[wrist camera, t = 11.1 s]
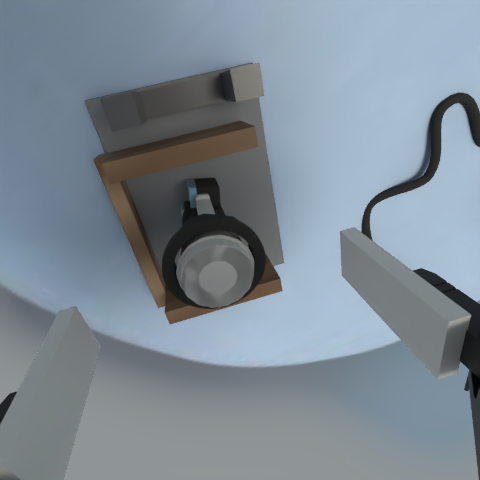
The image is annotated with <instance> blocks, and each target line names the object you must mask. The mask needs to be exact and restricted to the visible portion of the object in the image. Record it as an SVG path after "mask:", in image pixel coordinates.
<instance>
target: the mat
mask: <svg viewBox="0 0 480 480" xmlns="http://www.w3.org/2000/svg"><path fill="white" fill-rule="evenodd" d="M250 64H253V63H248V64H244V65H239V66H235V67H231V68H226V69H222V70H217V71H213V72H209V73H204V74H200V75H195V76H191V77H186V78H182V79H178V80H173V81H169V82H164V83H160V84H156V85H151V86H147V87H142V88H138V89H133V90H129V91H125V92H120V93H116V94H111V95H107V96H103V97H98V98H94V99H89V100H85V103H86V105H87V108H88V110H89V113H90V115H91V117H92V120H93V122H94V125H95V127H96V130H97V132H98V134H99V137H100V139H101V142H102V144H103V146H104V149H105V151H106V153H110V152H114V151H118V150H122V149H126V148H130V147H135V146H139V145H143V144H147V143H151V142H155V141H159V140H163V139H167V138H172V137H176V136H180V135H184V134H188V133H192V132H196V131H200V130H204V129H209V128H213V127H217V126H221V125H225V124H229V123H233V122H237V121H243V122H246V123H248V124H251V125H253V126H255V130H256V136H257V142H258V147H256V148H252V149H248V150H244V151H240V152H236V153H232V154H228V155H224V156H220V157H216V158H213V159H209V160H205V161H201V162H197V163H193V164H189V165H185V166H181V167H177V168H173V169H169V170H165V171H161V172H157V173H153V174H149V175H145V176H141V177H137V178H133V179H129V180H125V181H126V184H127V186H128V189H129V191H130V194H131V196H132V199H133V201H134V204H135V206H136V209H137V211H138V214H139V216H140V219H141V221H142V224H143V226H144V229H145V231H146V234H147V236H148V239H149V241H150V244H151V246H152V249H153V251H154V254H155V256H156V259H157V261H158V264H159V266H160V269H161V271H162V258H163V253H164V250H165V248H166V246H167V244H168V242H169V240H170V239H171V238H172V237H173V235H174V234H175V233H176V232H177V231H178V230H179V229H180V228H181V227H182V212H181V204H182V210H185V208H184V201H189V193H188V187H187V180H190V179H202V178H215V179H216V181H217V183H218V185H219V188H220V202H221V204H222V207H223V210H224V213H225V215H226V216H233V217H235V218H236V219H238V220H239V221H241V222H243V223H244V224H246V225H247V226H249V227H250V228H251V229H252V230H253V231H254V232H255V233H256V234H257V236H258V237H259V239H260V241H261V242H262V245H263V247H264V250H265V254H266V255H267V257H268V258H269V260H270V262H271V263H272V265H273V266H275V265H279V264H282V263H284V259H283V253H282V246H281V240H280V233H279V227H278V220H277V214H276V207H275V201H274V194H273V188H272V181H271V175H270V168H269V162H268V155H267V149H266V143H265V136H264V130H263V123H262V117H261V110H260V104H259V97H256V98H252V99H248V100H244V101H240V102H231V101H222V102H218V103H213V104H209V105H205V106H201V107H196V108H192V109H188V110H184V111H179V112H175V113H171V114H167V115H162V116H158V117H154V118H150V119H147V120H146V121H145V122H144V123H143V124H142V125H138V126H134V127H130V128H126V129H122V130H117V131H113V132H112V130H111V127H110V125H109V122H108V120H107V117H106V114H105V112H104V109H103V107H102V104H101V102H100V99H101V98H105V97H109V96H114V95H118V94H123V93H127V92H140V91H144V90H149V89H153V88H158V87H162V86H166V85H171V84H175V83H180V82H184V81H188V80H193V79H197V78H202V77H206V76H210V75H215V74H219V73H222V72H224V71H227V70H229V69H233V68H237V67H242V66H246V65H250ZM239 237H240V239H241V242H242V243H243V244H244V245H246V246H247V247H248V242H247V241H246V240H245V239H243V238H242V237H241V236H239ZM248 248H249V247H248ZM179 253H180V250H179V252H178V253H177V256H176V258H175V263H176V266H177V265H178V260H179V258H180V254H179Z"/></svg>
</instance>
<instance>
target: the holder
mask: <svg viewBox="0 0 480 480" xmlns="http://www.w3.org/2000/svg"><path fill="white" fill-rule="evenodd" d="M256 147H258V142H257V136H256V130H255V126H253V125H251V124H248V123H246V122H243V121H237V122H233V123H229V124H225V125H221V126H217V127H213V128H209V129H204V130H200V131H196V132H192V133H188V134H184V135H180V136H176V137H172V138H167V139H163V140H159V141H155V142H151V143H147V144H143V145H139V146H135V147H130V148H126V149H122V150H118V151H114V152H110V153H106V154H102V155H99V156H97V157H96V158H95V159H94V162H95V165H96V167H97V169H98V172H99V174H100V176H101V178H102V181H103V183H104V185H105V188H106V190H107V192H108V194H109V197H110V199H111V201H112V204H113V206H114V208H115V210H116V213H117V215H118V217H119V219H120V222H121V224H122V226H123V229H124V231H125V233H126V235H127V238H128V240H129V242H130V245H131V247H132V249H133V251H134V254H135V256H136V258H137V261H138V263H139V265H140V267H141V270H142V272H143V274H144V276H145V279H146V281H147V283H148V286H149V288H150V290H151V292H152V295H153V297H154V299H155V302H156V304H157V306H158V308H160V307H163V306H165V314H166V316H167V319H168V321H169V323H170V324H173V323H176V322H180V321H183V320H186V319H190V318H193V317H196V316H200V315H203V314H206V313H210V312H213V311H216V310H220V309H223V308H226V307H230V306H233V305H237V304H240V303H243V302H247V301H250V300H253V299H257V298H260V297H263V296H267V295H270V294H273V293H277V292H280V291H282V286H281V280H280V277H279V276H278V274H277V272H276V270H275V269H274V267H273V265H272V263H271V262H270V260H269V258H268V257H267V255H266V254H265V255H266V265H265V270H264V273H263V276H262V278H261V280H260V282H259V284H258V285H257V286H256V288H255V289H254V290H253V291H252V292H251V293H250V294H249V295H248V296H246V297H245V298H244V299H242V300H240V301H239V302H237V303H234V304H232V305H229V306H226V307H222V308H216V309H202V308H197V307H193V306H190V305H188V304H185V303H183V302H182V301H180V300H179V299H177V298H176V297H175V296H174V295H173V294H172V293H171V292H170V291H169V289H168V288H167V286H166V284H165V282H164V279H163V275H162V271H161V269H160V266H159V264H158V261H157V259H156V256H155V254H154V251H153V249H152V246H151V244H150V241H149V239H148V236H147V234H146V231H145V229H144V226H143V224H142V221H141V219H140V216H139V214H138V211H137V209H136V206H135V204H134V201H133V199H132V196H131V194H130V191H129V189H128V186H127V184H126V181H125V180H129V179H133V178H137V177H141V176H145V175H149V174H153V173H157V172H161V171H165V170H169V169H173V168H177V167H181V166H185V165H189V164H193V163H197V162H201V161H205V160H209V159H213V158H216V157H220V156H224V155H228V154H232V153H236V152H240V151H244V150H248V149H252V148H256Z"/></svg>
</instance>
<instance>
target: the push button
mask: <svg viewBox="0 0 480 480" xmlns="http://www.w3.org/2000/svg"><path fill="white" fill-rule="evenodd" d="M187 187H188V193H189V201H184V208H185V210H182V204H181V212H182V227H181V228H180V229H179V230H178V231H177V232H176V233H175V234H174V235H173V237H172V238H171V239H170V240H169V242H168V244H167V246H166V248H165V250H164V253H163V258H162V275H163V279H164V282H165V284H166V286H167V288H168V289H169V291H170V292H171V293H172V294H173V295H174V296H175V297H176V298H177V299H179V300H180V301H182V302H183V303H185V304H188V305H190V306H193V307H197V308H202V309H216V308H222V307H226V306H229V305H232V304H234V303H237V302H239V301H240V300H242V299H244V298H245V297H246V296H248V295H249V294H250V293H251V292H252V291H253V290H254V289H255V288H256V286H257V285H258V284H259V282H260V280H261V278H262V276H263V273H264V270H265V265H266V255H265V250H264V247H263V245H262V242H261V241H260V239H259V237H258V236H257V234H256V233H255V232H254V231H253V230H252V229H251V228H250V227H249V226H247V225H246V224H244V223H243V222H241V221H239V220H238V219H236V218H235V217H233V216H226V215H225V213H224V210H223V207H222V204H221V202H220V188H219V185H218V183H217V181H216V179H215V178H202V179H190V180H187ZM239 236H241V237H242V238H243V239H245V240H246V241H247V242H248V247H249V248H248V247H247V246H246V245H244V244H243V243H242V242H241V239H240V237H239ZM179 250H180V253H179V254H180V258H179V260H178V265H177V266H176V263H175V258H176V256H177V253H178V252H179Z"/></svg>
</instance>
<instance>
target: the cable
mask: <svg viewBox="0 0 480 480" xmlns="http://www.w3.org/2000/svg"><path fill="white" fill-rule="evenodd" d="M455 103H462V104H463V105H464V106H465V108H466V110H467V112H468V115H469V118H470V122H471V127H472V132H473V137H474V141H475V143H476V144H477V146H479V147H480V112H479V109H478V106H477V104H476V102H475V100H474V99H473V98H472V97H471V96H470V95H469V94H465V93H457V94H454V95H451V96H450V97H448V98H447V99H445V100H444V101H442V102H441V103H440V104H439V106H438V107H437V108H436V110H435V112H434V114H433V117H432V121H431V156H430V162H429V165H428V168H427V170H426V172H425V173H424V175H423V176H421V177H420V178H418V179H416V180H414V181H411V182H409V183H406V184H403V185H400V186H396V187H393V188H390V189H388V190H385V191H383V192H381V193H379V194H378V195H377V196H375V197H374V198H373V199H372V200H371V201H370V203H369V204H368V205H367V207H366V209H365V212H364V215H363V220H362V233H363V234H364V235H365V236H367V237H368V238H369V239H371V240H372V237H371V232H370V213H371V210H372V208H373V207H374V206H375V205H376V204H377V203H378V202H380V201H382V200H384V199H386V198H389V197H392V196H395V195H398V194H401V193H404V192H407V191H410V190H413V189H416V188H418V187H420V186H422V185H424V184H426V183H427V182H429V181H430V180H431V178H432V177H433V176H434V174H435V172H436V170H437V168H438V165H439V161H440V156H441V123H442V118H443V115H444V113H445V111H446V110H447V109H448V108H449V107H450V106H452V105H453V104H455ZM372 241H373V240H372Z"/></svg>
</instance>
